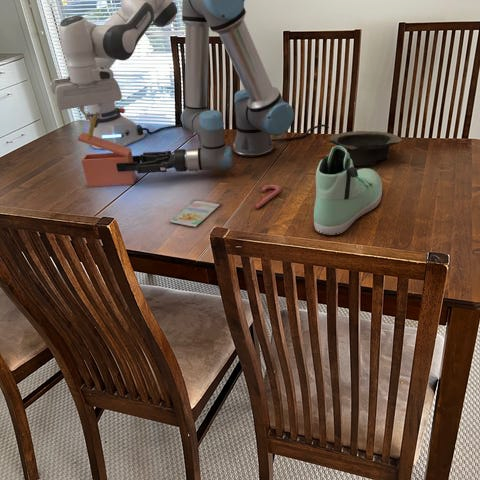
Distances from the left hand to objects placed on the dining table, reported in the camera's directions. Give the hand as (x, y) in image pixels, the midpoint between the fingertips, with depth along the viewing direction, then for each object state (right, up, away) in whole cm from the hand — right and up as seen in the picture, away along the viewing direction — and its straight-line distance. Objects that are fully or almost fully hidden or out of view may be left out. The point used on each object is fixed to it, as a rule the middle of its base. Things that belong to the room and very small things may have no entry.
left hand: (93, 118), depth 155 cm
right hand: (+6, -14, +8) cm, 17 cm away
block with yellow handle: (+2, -8, +5) cm, 10 cm away
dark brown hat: (+91, -10, +15) cm, 93 cm away
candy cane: (+55, -27, -7) cm, 62 cm away
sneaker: (+79, -30, -16) cm, 86 cm away
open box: (+3, -19, +12) cm, 23 cm away
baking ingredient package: (+34, -32, -13) cm, 48 cm away
